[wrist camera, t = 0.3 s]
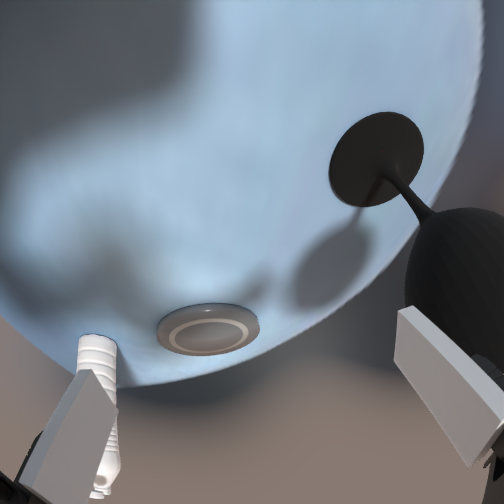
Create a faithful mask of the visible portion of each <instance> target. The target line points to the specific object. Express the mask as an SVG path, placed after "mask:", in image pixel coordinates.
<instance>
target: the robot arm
mask: <svg viewBox="0 0 504 504" xmlns="http://www.w3.org/2000/svg"><path fill="white" fill-rule="evenodd" d="M394 362H395V363H396V365H397V366H398V367H399V369H400V370H401V372H402V373H403V374H404V376H405V377H406V378H407V380H408V381H409V382H410V384H411V385H412V386H413V388H414V389H415V391H416V392H417V393H418V395H419V396H420V398H421V399H422V401H423V402H424V403H425V405H426V406H427V408H428V409H429V410H430V412H431V413H432V415H433V416H434V418H435V419H436V421H437V422H438V423H439V425H440V426H441V428H442V429H443V431H444V432H445V434H446V435H447V437H448V438H449V440H450V441H451V443H452V444H453V446H454V447H455V449H456V450H457V452H458V453H459V455H460V456H461V458H462V460H463V461H464V463H465V464H466V466H467V468H468V467H470V466H471V465H473V464H474V463H476V462H477V461H479V460H480V459H481V458H482V457H484V456H485V455H486V453H487V452H488V451H489V449H490V448H492V450H493V451H494V452H493V454H492V455H491V456H490V457H489V458H488V460H487V461H486V462H485V464H484V467H483V468H486V467H487V466H488V464H489V463H490V462H491V464H490V470H489V475H488V481H487V486H486V490H485V494H484V498H483V502H482V504H504V375H503V373H502V372H501V371H500V370H499V369H497V368H496V366H495V365H494V364H493V363H492V362H491V361H490V360H489V359H487V358H485V357H483V356H481V355H478V354H475V355H473V356H472V357H469V356H468V355H467V354H466V353H465V352H464V351H463V350H461V349H460V348H459V347H458V346H457V345H456V344H455V343H454V342H453V341H452V340H451V339H450V338H449V337H448V336H447V335H446V334H444V333H443V332H442V331H441V330H440V329H439V328H438V327H437V326H436V325H435V324H433V323H432V322H431V321H430V320H429V319H428V318H427V317H426V316H424V315H423V314H422V313H421V312H420V311H419V310H418V309H417V308H415V307H414V306H410V307H407V308H404V309H402V310H399V311H398V321H397V335H396V345H395V354H394ZM118 412H119V411H118V409H117V408H116V406H115V405H114V403H113V402H112V400H111V399H110V397H109V396H108V394H107V393H106V391H105V390H104V388H103V387H102V385H101V383H100V382H99V380H98V379H97V377H96V375H95V374H94V372H93V370H92V369H79V371H78V372H77V374H76V376H75V377H74V379H73V381H72V382H71V384H70V386H69V387H68V389H67V391H66V392H65V394H64V396H63V397H62V399H61V401H60V402H59V404H58V406H57V407H56V409H55V411H54V413H53V415H52V416H51V418H50V420H49V422H48V423H47V425H46V427H45V429H44V430H43V431H42V432H41V433H40V434H39V435H38V436H37V437H36V438H35V440H34V442H33V444H32V446H31V449H29V451H28V455H26V457H25V459H24V462H23V464H22V466H21V468H20V470H19V472H18V474H17V476H16V478H15V480H14V482H12V481H11V480H10V479H9V478H8V477H7V476H5V475H4V474H3V473H2V472H1V471H0V504H88V501H89V497H90V494H91V491H92V487H93V484H94V481H95V478H96V475H97V471H98V468H99V465H100V462H101V459H102V456H103V453H104V450H105V447H106V445H107V442H108V439H109V436H110V433H111V431H112V428H113V425H114V422H115V420H116V417H117V414H118Z"/></svg>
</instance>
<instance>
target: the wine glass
mask: <svg viewBox="0 0 504 504" xmlns="http://www.w3.org/2000/svg"><path fill="white" fill-rule="evenodd" d="M423 155H424V144H423V138H422V135H421V133H420V130H419V128H418V127H417V126H416V125H415V123H414V122H412V121H411V120H410V119H409V118H407V117H406V116H404V115H402V114H399V113H395V112H380V113H376V114H372V115H370V116H367V117H365V118H363V119H362V120H360V121H358V122H357V123H355V124H354V125H353V126H352V127H351V128H349V130H348V131H347V132H346V133H345V134H344V135H343V137H342V138H341V140H340V141H339V142H338V144H337V146H336V148H335V150H334V153H333V156H332V159H331V164H330V178H331V183H332V185H333V188H334V190H335V191H336V193H337V194H338V196H339V197H340V198H341V199H342V200H344V201H345V202H347V203H349V204H352V205H355V206H360V207H370V206H376V205H380V204H382V203H385V202H387V201H389V200H391V199H393V198H394V197H396V196H398V195H399V194H401V195H402V196H403V197H404V198H405V200H406V201H407V202H408V204H409V205H410V207H411V208H412V210H413V211H414V213H415V215H416V216H417V218H418V220H419V223H420V230H419V232H418V235H417V237H416V239H415V242H414V245H413V247H412V250H411V253H410V257H409V261H408V266H407V271H406V277H405V307H406V308H407V307H410V306H414V307H415V308H417V309H418V310H419V311H420V312H421V313H422V314H423V315H424V316H426V317H427V318H428V319H429V320H430V321H431V322H432V323H433V324H435V325H436V326H437V327H438V328H439V329H440V330H441V331H442V332H443V333H444V334H446V335H447V336H448V337H449V338H450V339H451V340H452V341H453V342H454V343H455V344H456V345H457V346H458V347H459V348H460V349H461V350H463V351H464V352H465V353H466V354H467V355H468V356H469V357H472V356H473V355H475V354H478V355H481V356H483V357H485V358H487V359H489V360H490V361H491V362H492V363H493V364H494V365H495V366H496V368H497V369H499V370H500V371H501V372H502V373H503V374H504V216H502V215H500V214H497V213H495V212H493V211H489V210H485V209H480V208H457V209H451V210H446V211H442V212H438V213H436V212H434V211H432V210H431V209H430V208H429V207H428V206H427V205H425V204H424V202H423V201H422V200H421V199H420V198H419V197H418V196H417V195H416V194H415V193H414V192H413V191H412V190H411V188H410V187H409V184H410V183H411V182H412V181H413V179H414V178H415V176H416V175H417V173H418V171H419V169H420V166H421V163H422V160H423Z"/></svg>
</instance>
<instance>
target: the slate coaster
mask: <svg viewBox="0 0 504 504" xmlns="http://www.w3.org/2000/svg"><path fill="white" fill-rule="evenodd" d="M259 331H260V327H259V322H258V319H257V316H256V315H255V314H254V313H253V312H251V311H250V310H248V309H246V308H243V307H241V306H237V305H232V304H223V303H207V304H198V305H192V306H188V307H184V308H181V309H178V310H176V311H174V312H171V313H170V314H168V315H166V316H165V317H164V318H163V319H162V320H161V321H160V322H159V324H158V327H157V338H158V341H159V343H160V344H161V345H162V346H163V347H164V348H166V349H168V350H170V351H172V352H175V353H179V354H183V355H190V356H211V355H219V354H224V353H228V352H232V351H235V350H237V349H240V348H242V347H244V346H246V345H248V344H249V343H251V342H252V341H253V340H254V339H255V338H256V337H257V336H258V334H259Z"/></svg>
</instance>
